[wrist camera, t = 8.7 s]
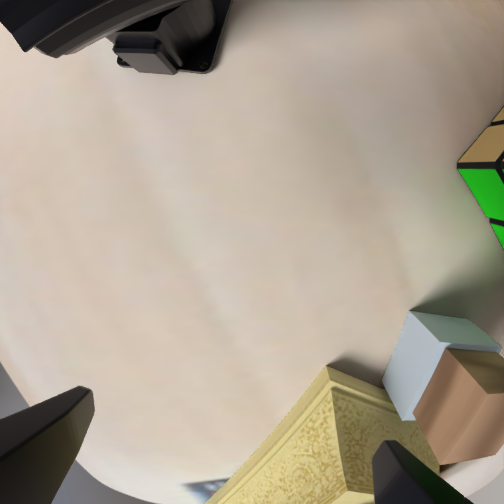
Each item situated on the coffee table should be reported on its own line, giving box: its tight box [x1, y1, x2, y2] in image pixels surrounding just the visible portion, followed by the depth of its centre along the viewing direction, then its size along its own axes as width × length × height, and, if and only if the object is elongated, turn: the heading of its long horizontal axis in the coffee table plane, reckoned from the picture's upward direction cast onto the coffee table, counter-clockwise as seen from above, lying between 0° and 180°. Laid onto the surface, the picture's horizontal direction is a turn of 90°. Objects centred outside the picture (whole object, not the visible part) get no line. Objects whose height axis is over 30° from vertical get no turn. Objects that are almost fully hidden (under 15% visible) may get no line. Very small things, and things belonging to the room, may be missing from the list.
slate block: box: [381, 311, 502, 421], centre depth 19 cm, size 6×6×5 cm
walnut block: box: [412, 348, 504, 465], centre depth 14 cm, size 5×5×5 cm
